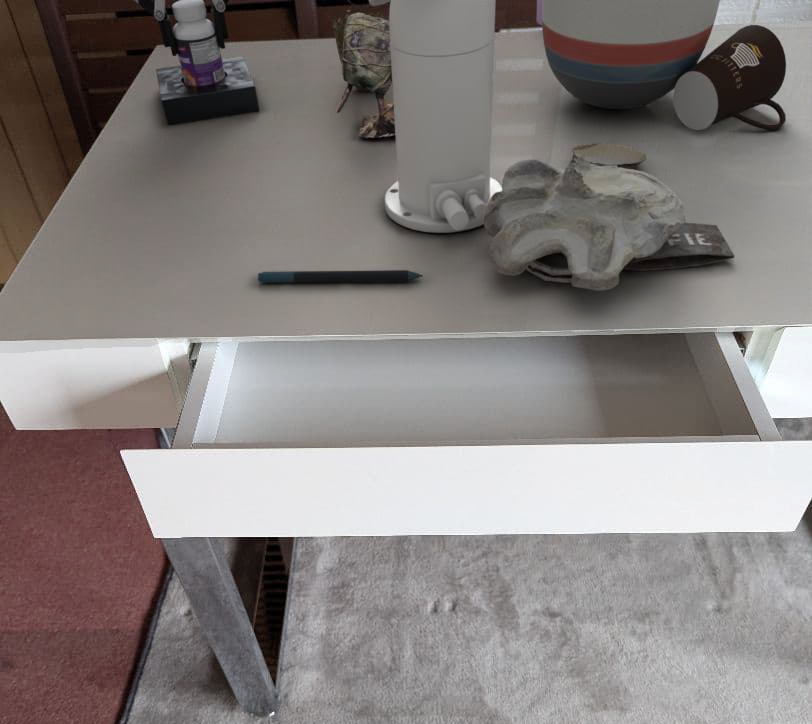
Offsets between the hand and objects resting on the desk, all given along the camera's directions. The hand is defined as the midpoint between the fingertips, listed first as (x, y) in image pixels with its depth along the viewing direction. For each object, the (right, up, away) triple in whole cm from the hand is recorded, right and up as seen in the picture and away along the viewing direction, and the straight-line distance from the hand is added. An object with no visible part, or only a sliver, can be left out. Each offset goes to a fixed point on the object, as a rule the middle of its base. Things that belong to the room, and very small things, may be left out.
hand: (197, 47), depth 103 cm
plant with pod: (+24, -13, -4) cm, 28 cm away
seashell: (+49, -23, -14) cm, 56 cm away
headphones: (+23, +9, +15) cm, 29 cm away
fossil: (+47, -33, -23) cm, 62 cm away
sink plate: (0, -4, +5) cm, 6 cm away
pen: (+27, -41, -31) cm, 58 cm away
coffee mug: (+61, -14, -12) cm, 64 cm away
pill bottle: (0, -3, +4) cm, 5 cm away
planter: (+53, -8, -2) cm, 54 cm away
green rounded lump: (+22, -2, +5) cm, 22 cm away
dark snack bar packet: (+47, -37, -27) cm, 66 cm away
